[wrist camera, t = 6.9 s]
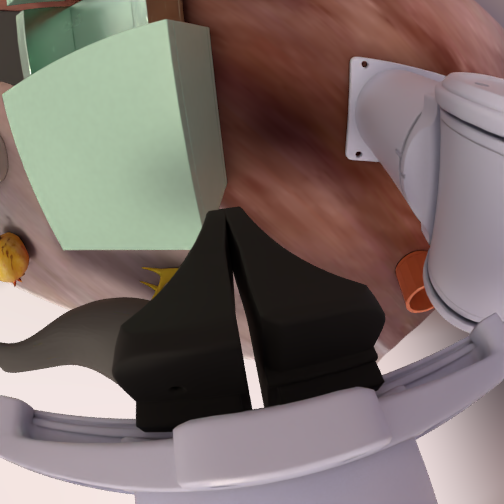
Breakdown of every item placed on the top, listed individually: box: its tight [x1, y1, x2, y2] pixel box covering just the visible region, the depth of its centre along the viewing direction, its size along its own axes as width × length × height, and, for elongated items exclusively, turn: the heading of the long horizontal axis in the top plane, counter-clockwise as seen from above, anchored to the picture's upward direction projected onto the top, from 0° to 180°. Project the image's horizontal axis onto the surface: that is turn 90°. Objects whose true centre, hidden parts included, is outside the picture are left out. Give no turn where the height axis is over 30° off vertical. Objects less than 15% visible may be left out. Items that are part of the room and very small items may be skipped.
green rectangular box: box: [2, 19, 227, 250], centre depth 15 cm, size 13×12×8 cm
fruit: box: [0, 232, 29, 287], centre depth 27 cm, size 7×7×10 cm
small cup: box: [395, 251, 434, 313], centre depth 25 cm, size 5×5×4 cm
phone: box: [0, 11, 24, 85], centre depth 11 cm, size 7×1×15 cm
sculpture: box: [0, 267, 179, 383], centre depth 23 cm, size 9×25×20 cm, turn 70°
